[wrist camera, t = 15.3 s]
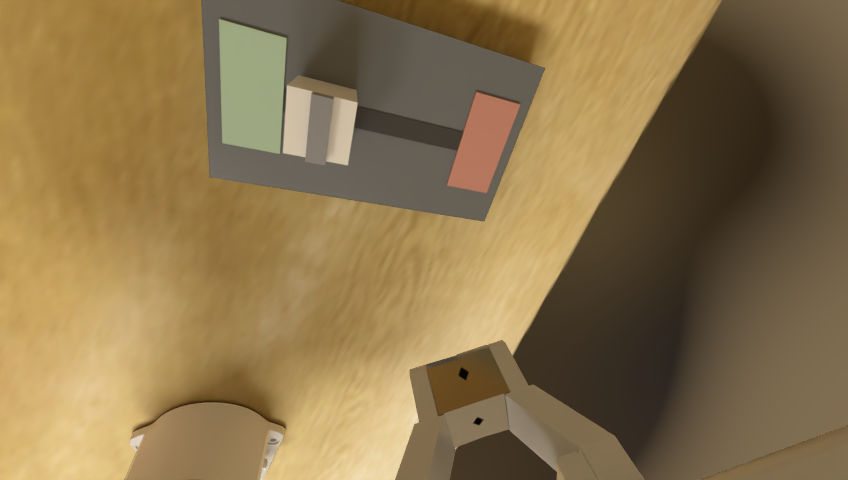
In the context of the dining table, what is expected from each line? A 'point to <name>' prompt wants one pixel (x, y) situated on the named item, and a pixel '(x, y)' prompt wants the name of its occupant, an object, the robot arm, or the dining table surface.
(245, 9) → the breaker panel
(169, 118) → the dining table surface
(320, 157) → the handle
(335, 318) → the dining table surface
